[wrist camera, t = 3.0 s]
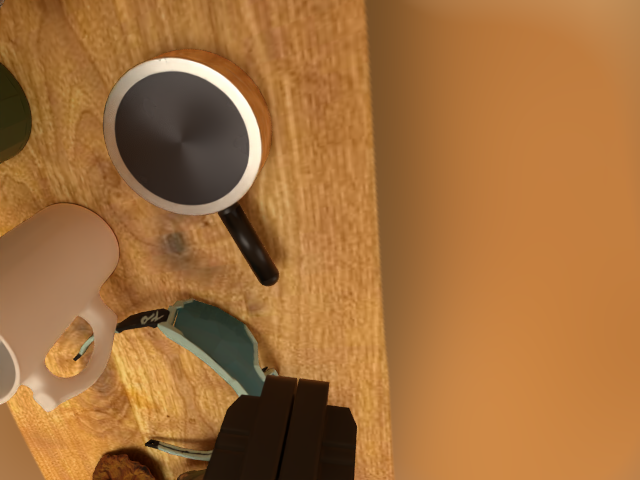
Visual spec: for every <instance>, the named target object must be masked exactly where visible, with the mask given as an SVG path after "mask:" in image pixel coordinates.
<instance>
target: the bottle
mask: <svg viewBox="0 0 640 480" xmlns="http://www.w3.org/2000/svg"><path fill="white" fill-rule="evenodd" d="M30 131H31V114H30V109H29V105H28V102H27V99H26V96H25V94H24V92H23V90H22V88H21V87H20V85H19V84H18V82H17V81H16V79H15V78H14V77H13V75H12V74H11V73H10V72H9V71H8V70H7V69H6V68H5V67H4V66H3V65H2V64H1V63H0V163H2V162H4V161H6V160H8V159H10V158H12V157H14V156H15V155H17V154H18V153H19V152H20V151H21V150H22V149H23V147H24V146H25V145H26V143H27V141H28V138H29V135H30Z"/></svg>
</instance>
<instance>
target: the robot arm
mask: <svg viewBox="0 0 640 480" xmlns="http://www.w3.org/2000/svg"><path fill="white" fill-rule="evenodd" d="M328 392H329V382H324V381H316V380H308V379H299V382H298V386H297V378H291V377H283V376H275V375H267V376H266V378H265V382H264V385H263V389H262V392H261V396H260V397H259V396H251V395H244V394H242V395H241V396H240V397H239V398H238V399H237V400H236V401H235V402H234V403H233V404H232V405H231V406H230V407H229V408H228V409H227V412H226V414H225V417H224V420H223V423H222V426H221V429H220V433H219V434H218V437H217V440H216V443H215V448H214V449H213V452H212V454H211V457H210V460H209V463H208V466H207V469H206V471H205V474H204V477H203V480H354V470H355V453H356V451H355V450H356V435H357V425H356V423H355V421H354V418H353V416H352V414H351V411H350V409H349V408H346V407H339V406H331V405H327V402H328Z"/></svg>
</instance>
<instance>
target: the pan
mask: <svg viewBox="0 0 640 480" xmlns="http://www.w3.org/2000/svg"><path fill="white" fill-rule="evenodd" d="M103 132H104V139H105V144H106V147H107V150H108V153H109V156H110V158H111V160H112V162H113V164H114V166H115V168H116V170H117V171H118V173H119V174H120V176H121V177H122V178H123V180H124V181H125V182H126V183H127V184H128V185H129V186H130V187H131V188H132V189H133V190H134V191H135V192H136V193H137V194H138V195H139V196H141V197H142V198H144V199H145V200H147V201H148V202H150V203H151V204H153V205H155V206H157V207H159V208H162V209H164V210H166V211H170V212H173V213H177V214H182V215H193V216H197V215H207V214H212V213H216V212H218V214H219V216H220V218H221V220H222V221H223V223H224V224H225V226H226V228H227V229H228V231H229V233H230V234H231V236H232V238H233V239H234V241H235V243H236V244H237V246H238V248H239V249H240V251H241V253H242V254H243V256H244V258H245V259H246V261H247V262H248V264H249V266H250V267H251V269H252V271H253V272H254V274H255V276H256V277H257V279H258V281H259V282H260V283H261V284H262V285H264V286H272V285H274V284H275V283H276V282H277V281H278V279H279V271H278V269H277V268H276V266H275V264H274V262H273V261H272V259H271V257H270V256H269V254H268V252H267V250H266V249H265V247H264V245H263V244H262V242H261V240H260V238H259V237H258V235H257V233H256V231H255V230H254V228H253V226H252V225H251V223H250V221H249V219H248V218H247V216H246V214H245V213H244V211H243V209H242V207H241V206H240V204H239V203H238V201H239V200H240V199H241V198H242V197H243V196H244V195H245V194H246V193H247V192H248V190H249V189H250V188H251V186H252V185H253V183H254V181H255V180H256V178H257V176H258V174H259V173H260V171H261V169H262V168H263V166H264V164H265V162H266V160H267V157H268V155H269V151H270V147H271V141H272V124H271V118H270V114H269V110H268V107H267V104H266V102H265V100H264V98H263V96H262V94H261V92H260V90H259V89H258V87H257V86H256V85H255V83H254V82H253V81H252V79H251V78H250V77H249V76H248V75H247V74H246V73H245V72H244V71H243V70H242V69H240V68H239V67H238V66H237V65H235V64H234V63H232V62H231V61H229V60H227V59H226V58H224V57H222V56H219V55H217V54H215V53H211V52H208V51H204V50H198V49H180V50H174V51H170V52H166V53H164V54H161V55H159V56H156V57H154V58H152V59H149V60H147V61H144V62H142V63H140V64H138V65H136V66H134V67H133V68H131V69H130V70H128V71H127V72H126V73H125V74H124V75H123V76H122V77H120V79H119V80H118V81H117V83H116V84H115V85H114V87H113V89H112V90H111V92H110V94H109V96H108V99H107V102H106V105H105V110H104V117H103Z"/></svg>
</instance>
